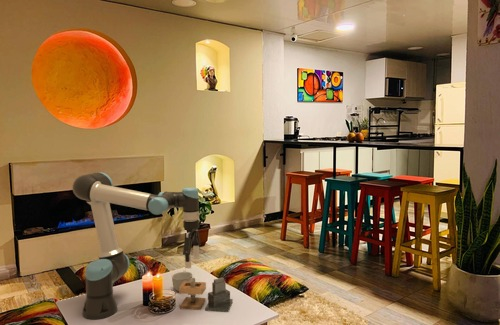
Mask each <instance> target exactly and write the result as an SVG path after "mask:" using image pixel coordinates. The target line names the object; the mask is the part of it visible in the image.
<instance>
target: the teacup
mask: <svg viewBox="0 0 500 325" xmlns="http://www.w3.org/2000/svg"><path fill="white" fill-rule="evenodd" d="M190 278H193V273H192V272H190V271H186V270H183V271H180V272H179V271H178V272H175V273H174V274H172V275H171V279H172V280H171V282H172V287H173V289H174V290H176V292H177V291H178V292H179V287H180V286H181V284H182V283H183V282H184V281H188V282H190Z"/></svg>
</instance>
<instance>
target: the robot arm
mask: <svg viewBox="0 0 500 325" xmlns="http://www.w3.org/2000/svg"><path fill="white" fill-rule="evenodd" d="M181 190H182V191H161V192H160V191H159V193H158V194H152V193H148V192H142V191H138V190H133V189H128V188H123V187H118V186H114V183H113V179H112V178H111V177H110V176H109V175H108V174H107V173H105V172H100V171H99V172H97V171H96V172H92V173H88V174H83V175H80V176H78V177H77V178H75V179H74V181H73V183H72V192H73V194H74V195H75V197H77V198H78V199H80V200H83V201H86V203H87V204H88V205H89V206H90V207H91V212H92V217H93V222H94V225H95V230H96V231H95V232H96V235H97V239H98V245H99V248H100V249H99V250H100V253H99V254H98V259H96V260H93V261H91V262H89V263H88V264H87V265H86V266H85V273H84V276H85V293H86V294H85V296H86V298H85V302H84V305H83V307H82V316H83V318H85V319H88V320H101V319H105V318H109V317H111V316H113V315H115V314H116V313H117V311H118V303H117V300H116V298H115V295H114V287H113V286H114V284H113V283H115V282H116V281H118V280H119V279H121V278H122V277H123V276H125V275H126V273H127V272H128V270H129V269H130V265H131V264H130V259H129V257H128V255H126V254H125V253H124V250H123V248H121V247H119V246H120V245H119V241H118V238H117V231H116V228H115V223H114V218H113V213H112V209H111V204H114V205H119V206H123V207H130V208H135V209H138V210H144V211H149V212H150V213H151V214H153V215H156V216H157V215H158V216H159V215H162V214H164V213H165V212H167V211H169V210H171V209H172V208H174V209H175V208H180V209H181V208H182V220H183V229H184V230H187V231H186V232H185V233H184V242H183V251H182V255H184V269H192V253H193V259H194V260H199V259H200V246H201V245H202V244H201V240H200V239H201V238H200V234H199V233H200V232H199V228H200V220H199V219H200V215H201V213H200V210H199V209H200V208H199V206H200V201H199V198H200V196H199V189H198V188H197V187H195V186H194V187H191V186H189V187H184V188H182V189H181ZM192 245H193V246H192ZM191 250H192V253H191Z"/></svg>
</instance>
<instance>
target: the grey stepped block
mask: <svg viewBox="0 0 500 325" xmlns="http://www.w3.org/2000/svg"><path fill="white" fill-rule="evenodd" d="M226 285H227V284H226V280H225V278H224V277H219V278H215V279H213V282H212V283H211V286H212V291H209V292H208V293H207V301H208V302H207V304H206V306H205V308H204V311H205V312H217V313H218V312H219V313H221V312H222V313H229V311H230V309H231V306H232V304H233V298H231V291H230V290H228V289H227V288H226V287H227V286H226Z"/></svg>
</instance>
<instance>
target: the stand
mask: <svg viewBox="0 0 500 325" xmlns="http://www.w3.org/2000/svg"><path fill="white" fill-rule="evenodd" d="M195 282H196V278H195V277H192V278H190V286H195ZM187 295H188V296H185V298H184V299H183V301H182V302H181V303H180V305H179V310H180V309H181V310H196V311H201V310H202V308H203V306H204V305H205V302H206V301H207V299H206V297H199V296H198V297H196V295H197V294H187Z"/></svg>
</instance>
